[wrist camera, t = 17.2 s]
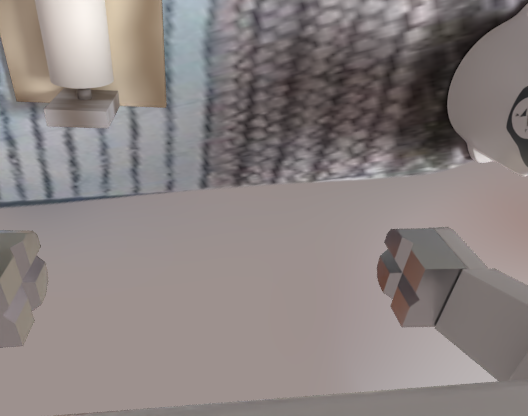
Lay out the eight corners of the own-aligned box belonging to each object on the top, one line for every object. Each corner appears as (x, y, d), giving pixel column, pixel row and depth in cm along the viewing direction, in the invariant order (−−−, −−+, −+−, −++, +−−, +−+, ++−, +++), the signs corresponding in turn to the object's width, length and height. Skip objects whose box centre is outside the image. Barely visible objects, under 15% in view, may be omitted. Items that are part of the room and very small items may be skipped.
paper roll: (63, -59, 33) (5, -64, 29) (113, -53, 31) (60, -57, 27) (83, 72, 39) (37, 83, 35) (126, 82, 37) (83, 96, 33)
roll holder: (158, -86, 33) (149, -93, 27) (166, 104, 41) (161, 130, 36) (-30, -108, 31) (-83, -121, 25) (20, 98, 39) (-11, 124, 33)
